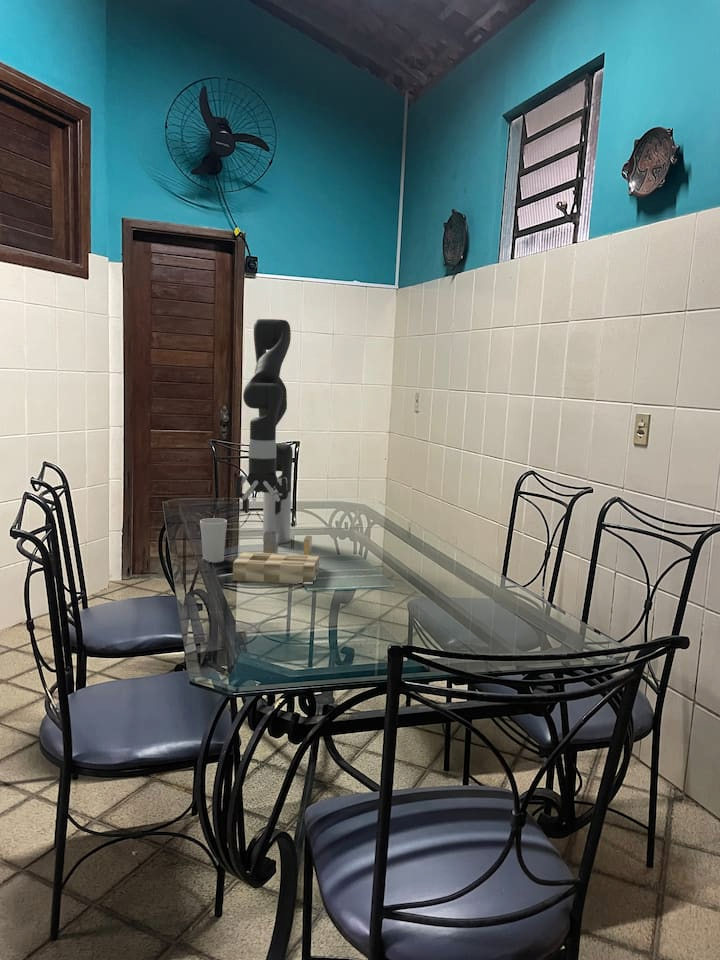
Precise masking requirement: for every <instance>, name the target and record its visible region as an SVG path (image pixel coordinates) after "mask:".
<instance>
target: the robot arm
mask: <svg viewBox="0 0 720 960" xmlns="http://www.w3.org/2000/svg"><path fill="white" fill-rule="evenodd" d="M291 338H292V333H291V324H290V322H289V321H287V320H285V319H279V318H278V319H273V318H271V319H270V318H267V319H266V318H261V319H260V318H258V319H256V320H255V321H254V325H253V340H254V341H253V342H254V343H253V344H254V352H255V361H256V364H255V365H256V366H255V369H254V373H253V376H252V377H251V379H249V380H248V381H247V383H246V385H245V387H244V390H243V394H242V395H243V396H242V397H243V402H244V404H245V405H246V407H248V408H250V409H256V410H258V417H253V418H251V420H250V423H249V445H248V475H247V476H243V474H241V475H238V476H237V477H236V489H235V497H236V498H240V499H241V500H242V511H243V512H244V514H248V513H249V512H250V499H249V497H250V496H251V494H252V493H253V492H255V493H263V497H262V499H263V503H262V504H263V505H262V507H263V510H262V512H263V513H262V514H263V515H262V516H263V517H262V542H264V533H265V532H266V531H278V545H279V544H287V543H289V542H291V519H292V518H291V515H292V514H291V511H292V509H291V507H292V469H293V459H294V458H293V456H294V455H293V452H294V451H293V448H292V447H293V446H292V445H291V444H288V443H276V442H277V441H276V436H277V435H276V434H277V433H276V432H277V431H276V430H277V429H276V428H277V426H278V424H279V423H280V421H281V420H282V419H283V417H284V416H285V413H286V411H287V407H288V400H287V399H288V398H287V397H288V396H287V395H288V393H287V387H286V385H285V383H284V381H283V380H282V379H281V369H282V365H283V362H284V360H285V358H286V356H287V353H288V350H289V347H290V343H291ZM277 472H281V474H280V476H278V477H277ZM246 482H247V483H248V484H249V488H248V489H247V490H246V492H245V493H243V486H244V484H245V483H246Z"/></svg>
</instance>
